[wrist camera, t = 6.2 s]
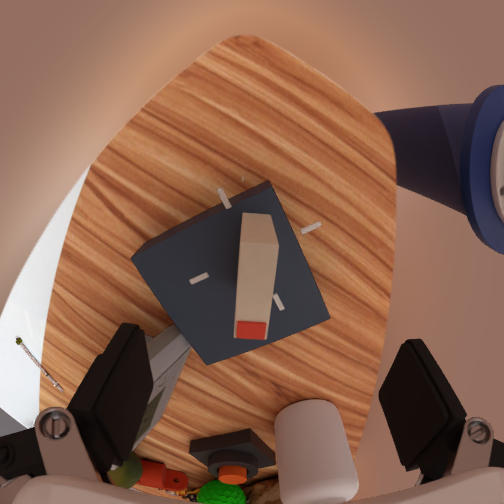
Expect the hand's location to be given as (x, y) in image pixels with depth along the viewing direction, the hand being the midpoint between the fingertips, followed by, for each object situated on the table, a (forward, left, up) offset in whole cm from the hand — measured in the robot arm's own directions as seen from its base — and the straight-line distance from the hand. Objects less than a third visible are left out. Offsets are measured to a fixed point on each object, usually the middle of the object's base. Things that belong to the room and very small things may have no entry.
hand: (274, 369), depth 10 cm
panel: (+2, +1, -14) cm, 14 cm away
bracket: (+34, +30, -12) cm, 46 cm away
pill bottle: (+5, +23, -14) cm, 27 cm away
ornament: (+24, +36, -14) cm, 46 cm away
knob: (+1, 0, -11) cm, 11 cm away
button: (+16, +26, -10) cm, 32 cm away
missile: (+32, +3, -13) cm, 35 cm away
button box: (+16, +26, -14) cm, 33 cm away
